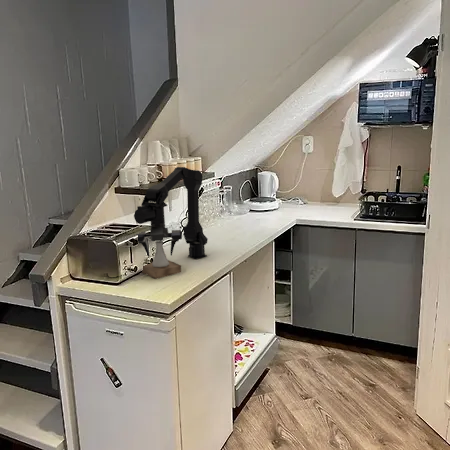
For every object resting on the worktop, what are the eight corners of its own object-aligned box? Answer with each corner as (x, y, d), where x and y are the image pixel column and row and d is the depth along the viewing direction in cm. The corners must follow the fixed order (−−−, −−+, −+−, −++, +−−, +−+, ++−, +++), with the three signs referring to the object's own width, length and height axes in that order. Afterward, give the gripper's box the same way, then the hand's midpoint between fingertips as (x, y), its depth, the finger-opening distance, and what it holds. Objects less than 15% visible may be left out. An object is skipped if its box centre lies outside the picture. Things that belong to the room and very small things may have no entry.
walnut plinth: (166, 265, 197) (165, 259, 197) (181, 272, 188) (180, 265, 187) (141, 272, 190) (140, 265, 189) (155, 279, 181) (155, 271, 180)
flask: (170, 262, 192) (168, 239, 190) (168, 267, 185) (167, 243, 183) (153, 263, 192) (151, 240, 190) (150, 268, 185) (149, 244, 183)
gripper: (131, 224, 176) (134, 263, 179) (179, 222, 177) (182, 260, 180) (135, 218, 187) (138, 255, 190) (180, 216, 188) (183, 252, 191)
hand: (160, 256), depth 188 cm, fingers open, 9 cm apart
